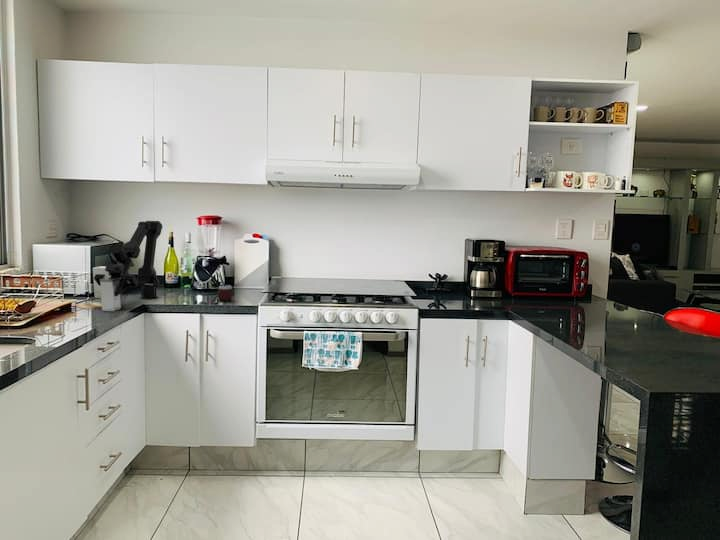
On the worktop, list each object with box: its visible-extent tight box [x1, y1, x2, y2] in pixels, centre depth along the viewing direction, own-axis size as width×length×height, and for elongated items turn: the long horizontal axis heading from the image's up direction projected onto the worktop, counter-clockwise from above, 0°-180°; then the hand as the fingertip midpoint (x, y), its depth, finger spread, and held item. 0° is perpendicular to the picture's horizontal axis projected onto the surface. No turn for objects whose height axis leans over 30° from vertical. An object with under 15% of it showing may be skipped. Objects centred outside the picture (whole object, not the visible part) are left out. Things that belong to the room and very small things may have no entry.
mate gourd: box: [214, 270, 234, 303], centre depth 267 cm, size 8×8×15 cm
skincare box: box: [92, 265, 111, 299], centre depth 272 cm, size 8×7×16 cm
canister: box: [100, 277, 122, 312], centre depth 240 cm, size 6×6×14 cm
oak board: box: [74, 301, 102, 310], centre depth 250 cm, size 12×12×1 cm
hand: (109, 295), depth 239 cm, fingers closed on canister, 5 cm apart
